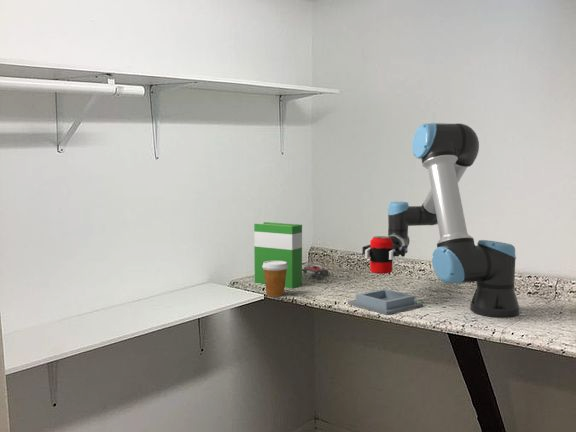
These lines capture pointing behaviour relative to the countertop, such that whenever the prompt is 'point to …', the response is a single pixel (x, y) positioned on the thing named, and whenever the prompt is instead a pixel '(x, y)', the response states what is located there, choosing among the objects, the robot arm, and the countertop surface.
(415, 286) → the countertop surface
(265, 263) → the disposable coffee cup
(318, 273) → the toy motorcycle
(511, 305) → the robot arm
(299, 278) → the cereal box
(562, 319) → the countertop surface
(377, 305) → the dock
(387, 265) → the soda can
